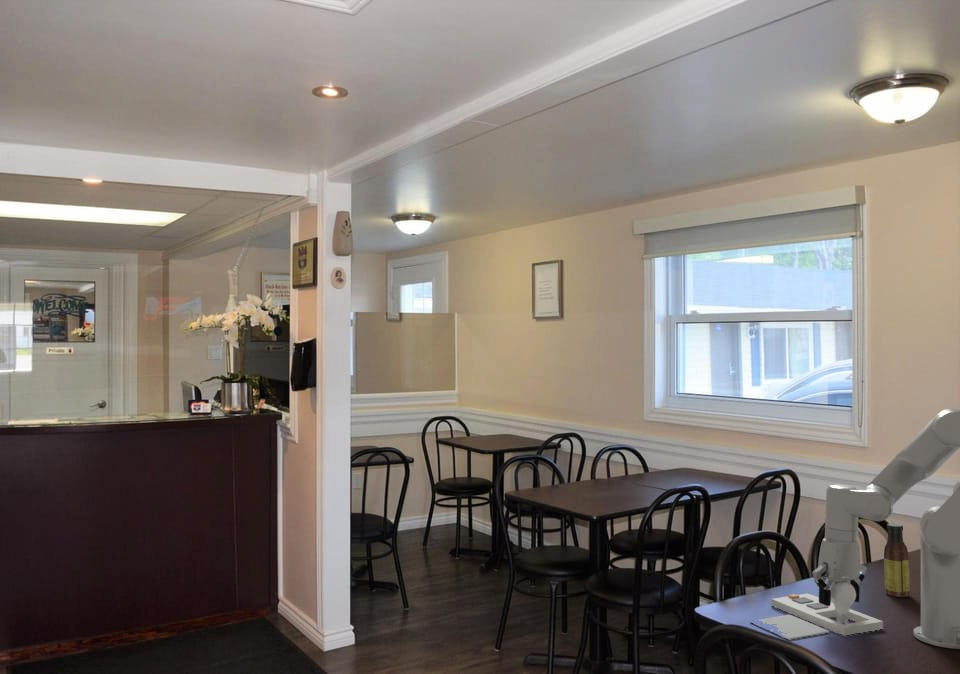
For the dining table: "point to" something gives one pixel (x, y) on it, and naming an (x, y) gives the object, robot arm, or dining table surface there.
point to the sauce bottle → (896, 563)
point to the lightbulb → (842, 599)
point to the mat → (794, 626)
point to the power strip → (825, 614)
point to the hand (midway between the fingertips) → (838, 602)
